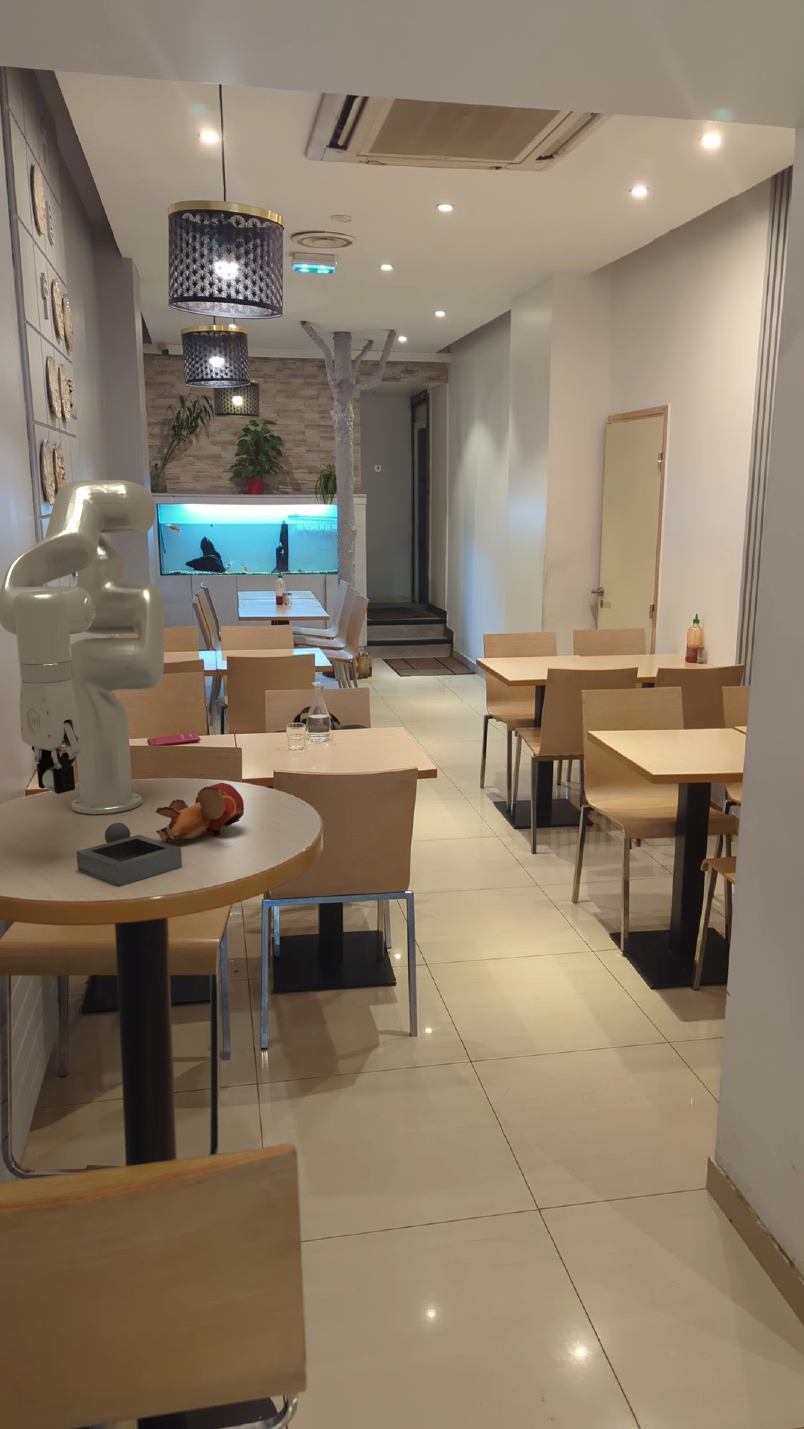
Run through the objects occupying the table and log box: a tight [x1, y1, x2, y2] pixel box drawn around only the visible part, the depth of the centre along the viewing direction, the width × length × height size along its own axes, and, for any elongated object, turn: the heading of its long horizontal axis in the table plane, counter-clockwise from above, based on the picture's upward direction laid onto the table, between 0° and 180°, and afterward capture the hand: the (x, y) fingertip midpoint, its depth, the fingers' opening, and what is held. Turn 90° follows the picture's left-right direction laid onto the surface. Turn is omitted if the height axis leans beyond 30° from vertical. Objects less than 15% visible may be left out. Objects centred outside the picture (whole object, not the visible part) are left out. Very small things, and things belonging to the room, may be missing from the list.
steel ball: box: [42, 766, 55, 793], centre depth 152 cm, size 4×4×4 cm
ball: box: [104, 822, 131, 843], centre depth 158 cm, size 4×4×4 cm
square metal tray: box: [76, 834, 183, 887], centre depth 147 cm, size 11×11×3 cm
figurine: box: [154, 782, 245, 843], centre depth 163 cm, size 20×9×15 cm
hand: (56, 787), depth 152 cm, fingers closed on steel ball, 4 cm apart
